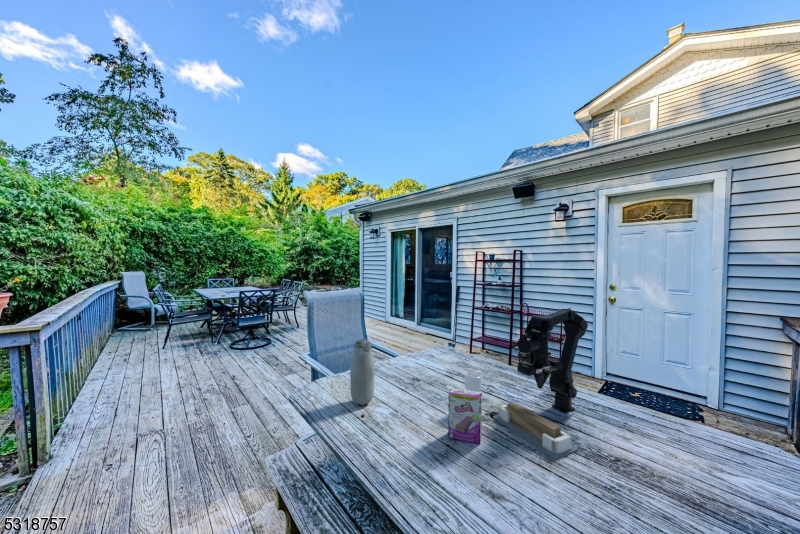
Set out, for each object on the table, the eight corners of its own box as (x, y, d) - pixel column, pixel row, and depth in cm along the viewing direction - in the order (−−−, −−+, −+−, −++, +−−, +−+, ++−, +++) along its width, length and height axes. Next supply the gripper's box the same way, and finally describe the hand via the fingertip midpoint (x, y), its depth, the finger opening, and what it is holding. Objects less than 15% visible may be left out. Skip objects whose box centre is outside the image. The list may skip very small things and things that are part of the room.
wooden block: (513, 417, 119) (513, 402, 119) (560, 444, 101) (560, 426, 101) (506, 419, 118) (507, 404, 118) (553, 447, 100) (553, 429, 100)
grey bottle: (346, 406, 130) (346, 341, 129) (358, 396, 139) (358, 335, 139) (367, 410, 126) (366, 343, 125) (377, 400, 135) (377, 337, 135)
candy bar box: (447, 439, 106) (447, 392, 105) (450, 431, 110) (450, 386, 110) (480, 445, 102) (481, 397, 102) (481, 437, 107) (482, 391, 107)
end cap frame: (513, 412, 125) (513, 400, 125) (578, 450, 99) (578, 436, 99) (492, 417, 120) (492, 406, 120) (554, 459, 95) (554, 445, 95)
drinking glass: (481, 415, 122) (482, 378, 122) (464, 413, 123) (464, 377, 123) (480, 407, 129) (481, 372, 128) (464, 405, 130) (464, 371, 130)
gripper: (540, 341, 130) (540, 377, 131) (506, 346, 123) (506, 384, 123) (563, 348, 120) (563, 387, 120) (528, 353, 113) (528, 395, 113)
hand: (539, 388), depth 119 cm, fingers closed
